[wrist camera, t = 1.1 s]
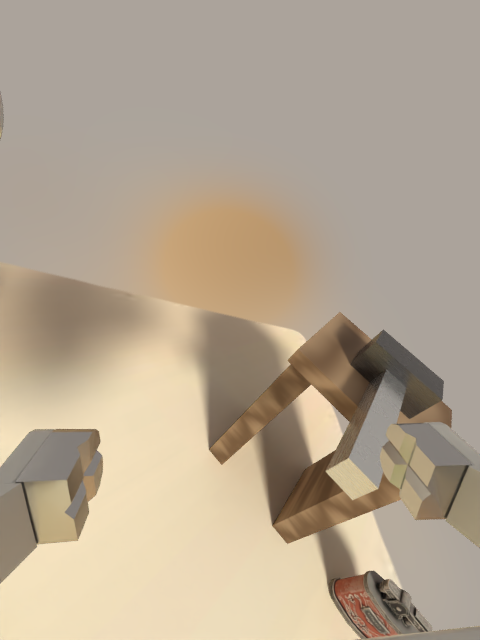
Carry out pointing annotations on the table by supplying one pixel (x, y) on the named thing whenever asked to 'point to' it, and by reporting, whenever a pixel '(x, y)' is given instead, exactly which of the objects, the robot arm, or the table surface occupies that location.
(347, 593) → the lighter
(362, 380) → the walnut shelf
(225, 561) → the table surface
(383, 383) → the steel t handle
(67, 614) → the table surface
